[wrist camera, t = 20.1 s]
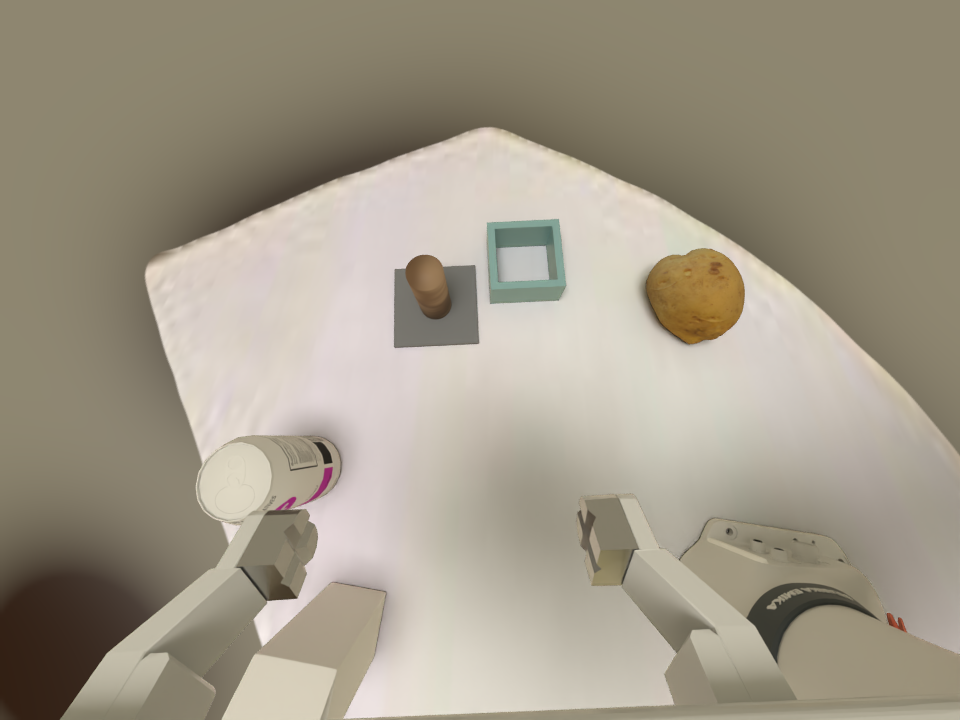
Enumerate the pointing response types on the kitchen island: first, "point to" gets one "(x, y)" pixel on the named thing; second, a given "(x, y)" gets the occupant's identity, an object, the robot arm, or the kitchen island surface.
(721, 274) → the potato
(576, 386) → the kitchen island surface
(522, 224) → the tub
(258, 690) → the milk carton
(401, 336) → the mat
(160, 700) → the robot arm
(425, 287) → the walnut peg
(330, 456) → the supplement can
